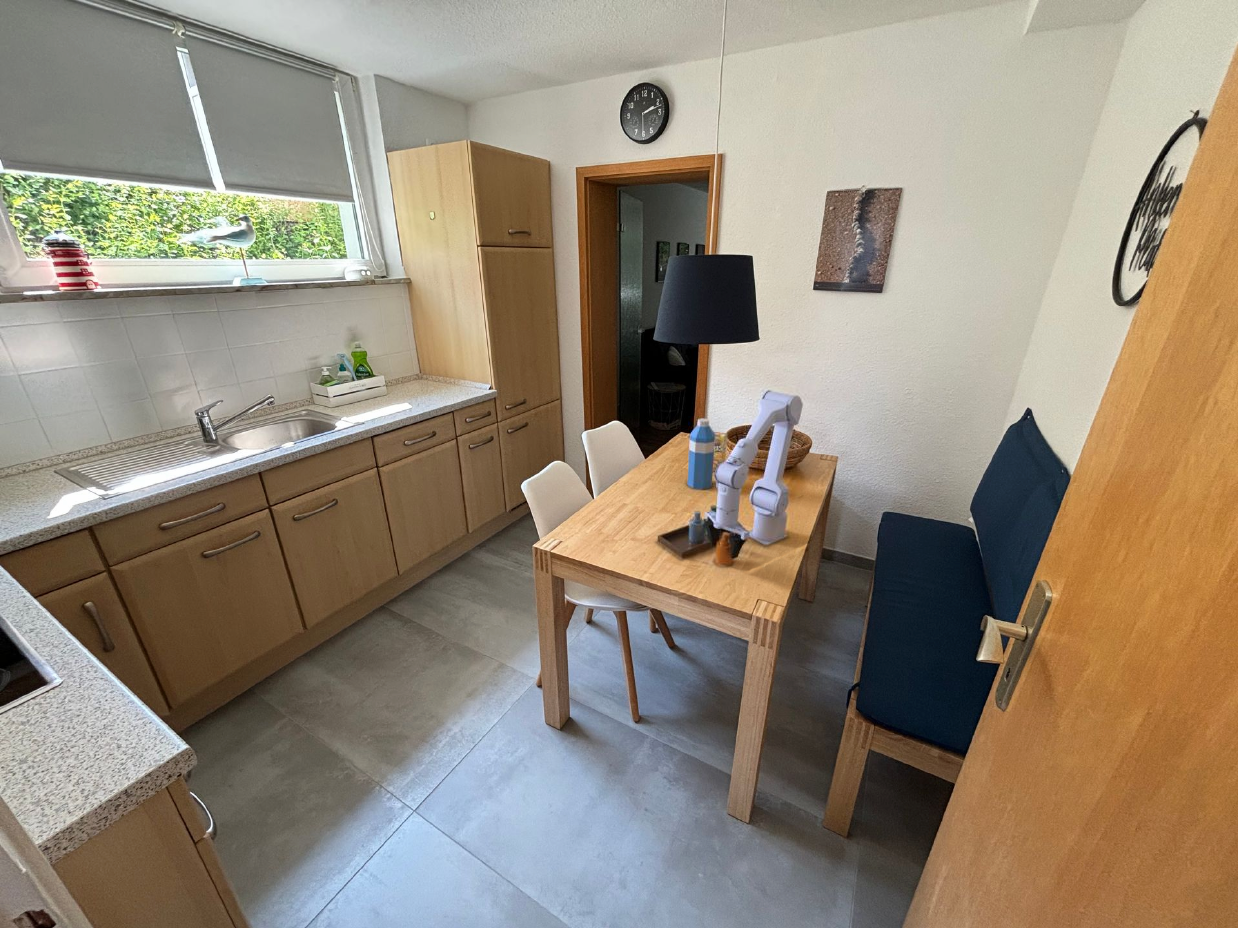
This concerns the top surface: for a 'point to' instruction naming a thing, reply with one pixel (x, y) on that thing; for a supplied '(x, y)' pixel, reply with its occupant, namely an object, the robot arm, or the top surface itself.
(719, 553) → the amber bottle
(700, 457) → the water bottle
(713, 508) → the green bottle
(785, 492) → the robot arm
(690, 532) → the blue-grey bottle
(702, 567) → the top surface
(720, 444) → the candy box
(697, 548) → the tray
